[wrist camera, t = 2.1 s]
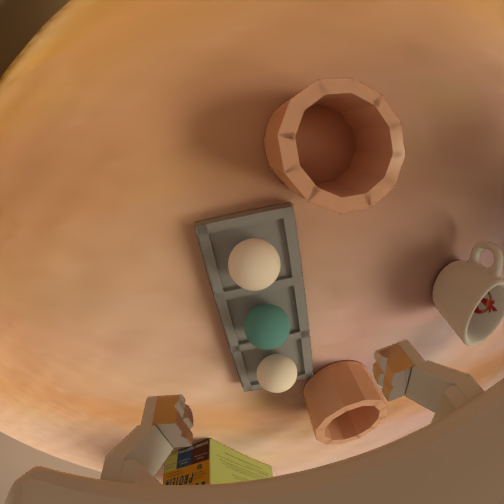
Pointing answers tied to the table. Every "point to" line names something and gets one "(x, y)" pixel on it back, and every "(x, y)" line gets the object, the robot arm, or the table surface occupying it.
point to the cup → (472, 295)
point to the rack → (243, 301)
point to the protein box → (211, 465)
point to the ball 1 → (254, 264)
